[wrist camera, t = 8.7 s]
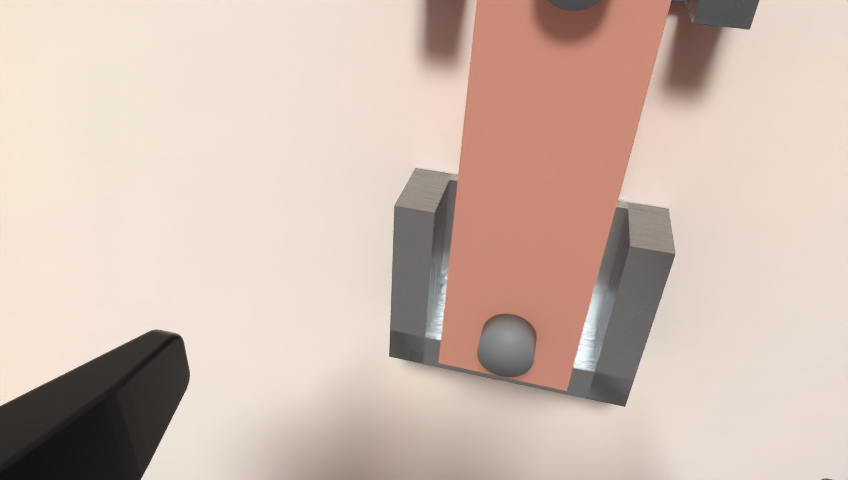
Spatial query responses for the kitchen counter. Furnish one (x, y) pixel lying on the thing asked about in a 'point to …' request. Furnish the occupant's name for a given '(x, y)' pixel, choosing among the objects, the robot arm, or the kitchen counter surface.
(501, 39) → the link
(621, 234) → the shallow metal tray
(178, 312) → the kitchen counter surface
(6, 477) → the robot arm
